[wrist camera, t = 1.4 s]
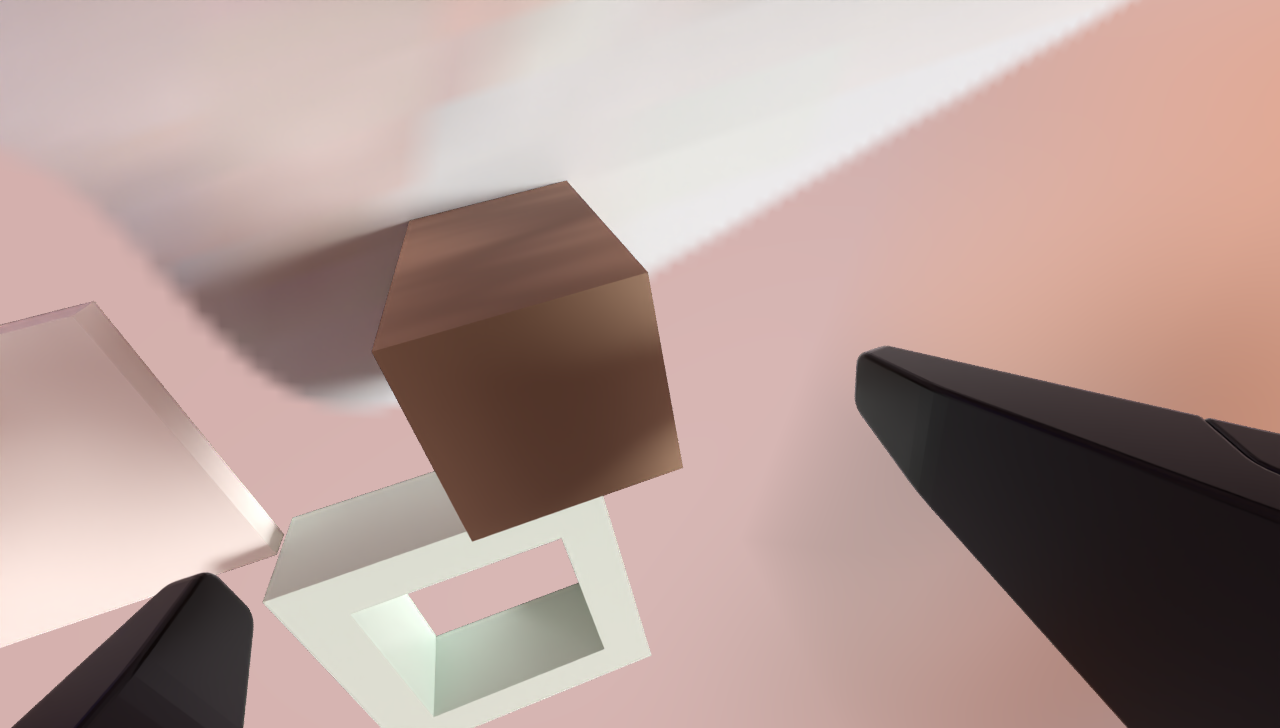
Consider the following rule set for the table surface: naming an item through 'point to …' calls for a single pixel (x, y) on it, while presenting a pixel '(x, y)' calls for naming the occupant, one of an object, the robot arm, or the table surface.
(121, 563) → the tile
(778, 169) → the table surface
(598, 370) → the walnut peg block
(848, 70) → the table surface
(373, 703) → the frame
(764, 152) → the table surface
